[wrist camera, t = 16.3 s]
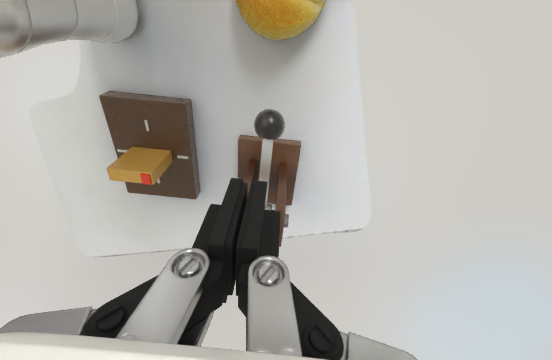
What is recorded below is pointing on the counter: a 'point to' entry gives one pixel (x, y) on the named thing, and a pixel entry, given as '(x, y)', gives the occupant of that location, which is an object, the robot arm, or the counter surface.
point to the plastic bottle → (63, 22)
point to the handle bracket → (280, 173)
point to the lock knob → (140, 165)
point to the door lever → (268, 141)
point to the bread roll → (280, 16)
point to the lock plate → (156, 138)
